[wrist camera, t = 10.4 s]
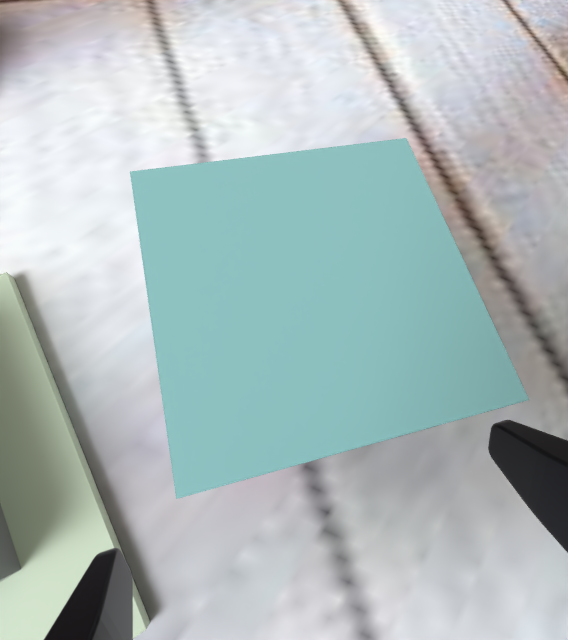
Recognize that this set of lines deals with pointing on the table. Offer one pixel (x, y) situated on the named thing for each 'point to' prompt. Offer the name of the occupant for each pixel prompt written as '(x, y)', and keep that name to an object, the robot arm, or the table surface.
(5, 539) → the grey hollow block
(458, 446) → the table surface
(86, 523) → the board
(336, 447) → the plug
